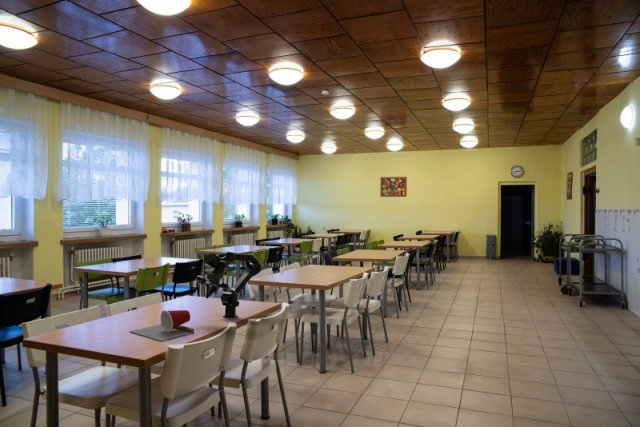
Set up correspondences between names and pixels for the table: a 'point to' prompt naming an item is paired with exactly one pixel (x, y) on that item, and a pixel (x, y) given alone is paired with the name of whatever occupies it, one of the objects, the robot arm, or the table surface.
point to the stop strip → (185, 328)
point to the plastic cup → (174, 319)
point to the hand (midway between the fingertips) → (206, 298)
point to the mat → (160, 333)
